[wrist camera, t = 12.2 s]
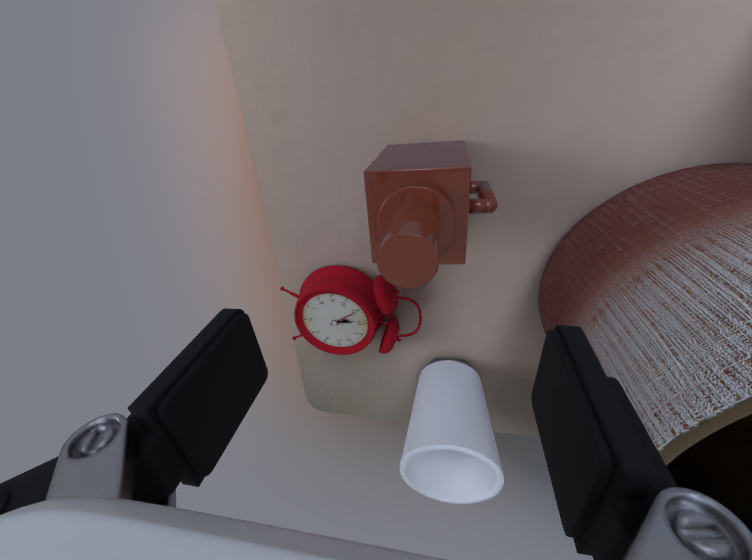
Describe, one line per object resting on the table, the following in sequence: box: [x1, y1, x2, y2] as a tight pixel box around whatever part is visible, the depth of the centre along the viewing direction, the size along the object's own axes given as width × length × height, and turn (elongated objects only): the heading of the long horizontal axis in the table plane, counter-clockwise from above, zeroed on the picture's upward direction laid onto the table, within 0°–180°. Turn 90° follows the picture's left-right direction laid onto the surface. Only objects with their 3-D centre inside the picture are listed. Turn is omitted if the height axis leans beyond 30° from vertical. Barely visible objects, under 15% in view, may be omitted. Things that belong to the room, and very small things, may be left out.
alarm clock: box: [280, 266, 422, 355], centre depth 37 cm, size 10×6×15 cm
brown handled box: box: [364, 141, 498, 288], centre depth 23 cm, size 7×9×16 cm
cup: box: [400, 359, 504, 504], centre depth 37 cm, size 10×10×13 cm
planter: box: [538, 163, 752, 533], centre depth 22 cm, size 22×22×20 cm
